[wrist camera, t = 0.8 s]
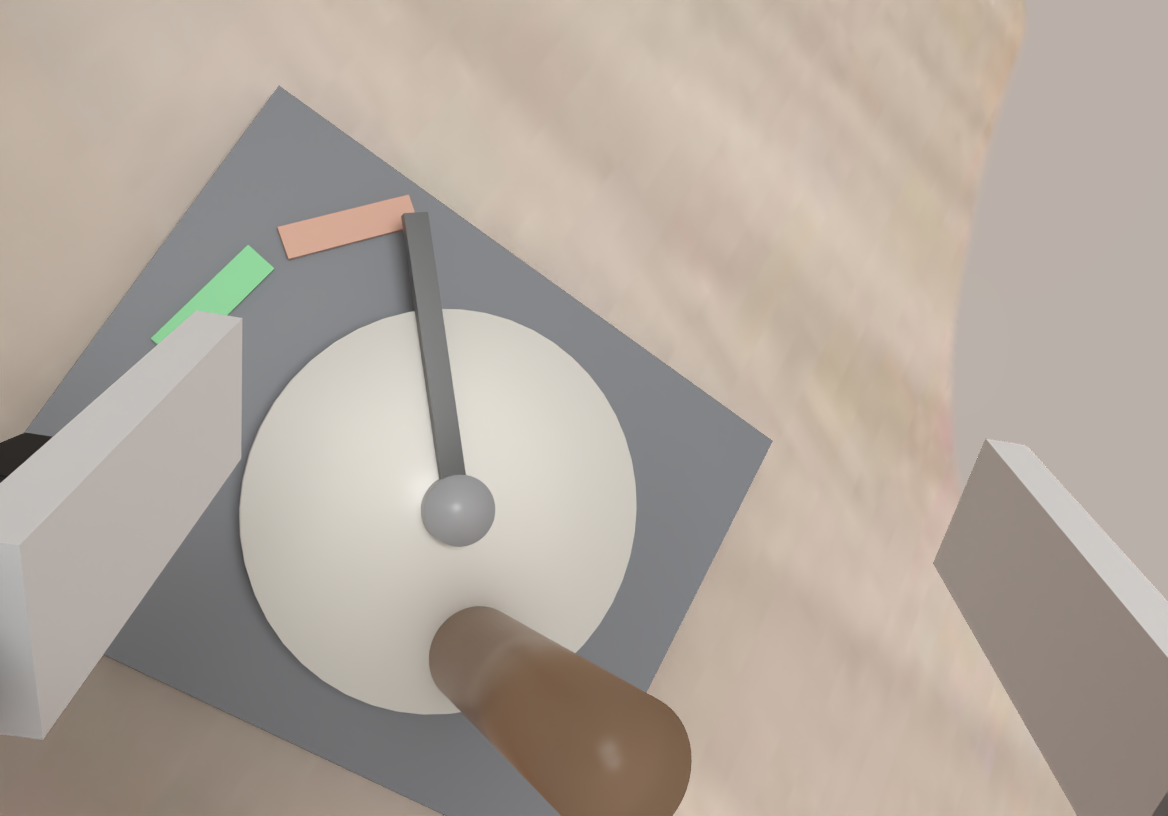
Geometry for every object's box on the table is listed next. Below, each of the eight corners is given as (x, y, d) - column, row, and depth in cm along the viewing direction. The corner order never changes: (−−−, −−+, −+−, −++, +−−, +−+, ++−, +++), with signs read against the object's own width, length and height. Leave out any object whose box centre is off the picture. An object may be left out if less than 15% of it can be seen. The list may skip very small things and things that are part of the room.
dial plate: (276, 97, 34) (279, 82, 33) (757, 441, 42) (776, 440, 41) (-66, 565, 30) (-80, 571, 28) (547, 856, 37) (560, 871, 36)
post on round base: (400, 210, 35) (520, 66, 21) (695, 418, 39) (942, 404, 26) (149, 589, 31) (108, 696, 18) (508, 770, 35) (688, 961, 22)
